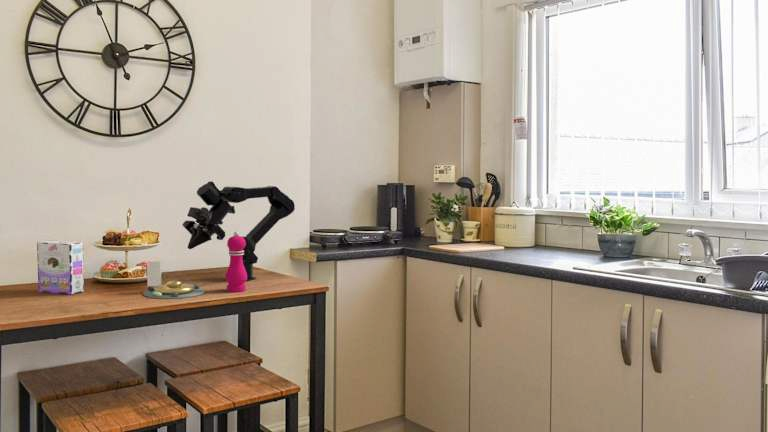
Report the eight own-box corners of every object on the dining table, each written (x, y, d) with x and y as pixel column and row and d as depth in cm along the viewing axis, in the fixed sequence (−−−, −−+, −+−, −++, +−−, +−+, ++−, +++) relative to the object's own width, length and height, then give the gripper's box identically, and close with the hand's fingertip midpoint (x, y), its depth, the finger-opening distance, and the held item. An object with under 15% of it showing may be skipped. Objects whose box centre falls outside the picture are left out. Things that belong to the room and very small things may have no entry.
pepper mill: (241, 293, 221) (242, 232, 219) (221, 291, 222) (221, 231, 221) (250, 289, 228) (250, 230, 226) (230, 288, 229) (230, 229, 228)
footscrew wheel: (199, 287, 224) (199, 259, 224) (187, 294, 212) (187, 265, 211) (155, 286, 224) (154, 258, 224) (141, 293, 212) (141, 264, 211)
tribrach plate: (216, 293, 219) (216, 288, 219) (163, 301, 205) (163, 295, 205) (184, 285, 231) (184, 280, 231) (132, 292, 217) (132, 287, 217)
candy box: (84, 292, 217) (84, 241, 216) (70, 295, 212) (70, 243, 210) (51, 288, 222) (50, 239, 220) (37, 291, 216) (36, 241, 215)
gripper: (187, 197, 237) (158, 230, 230) (217, 200, 225) (189, 235, 218) (206, 218, 244) (179, 251, 236) (237, 222, 231) (210, 256, 224)
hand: (188, 248), depth 228 cm, fingers closed
